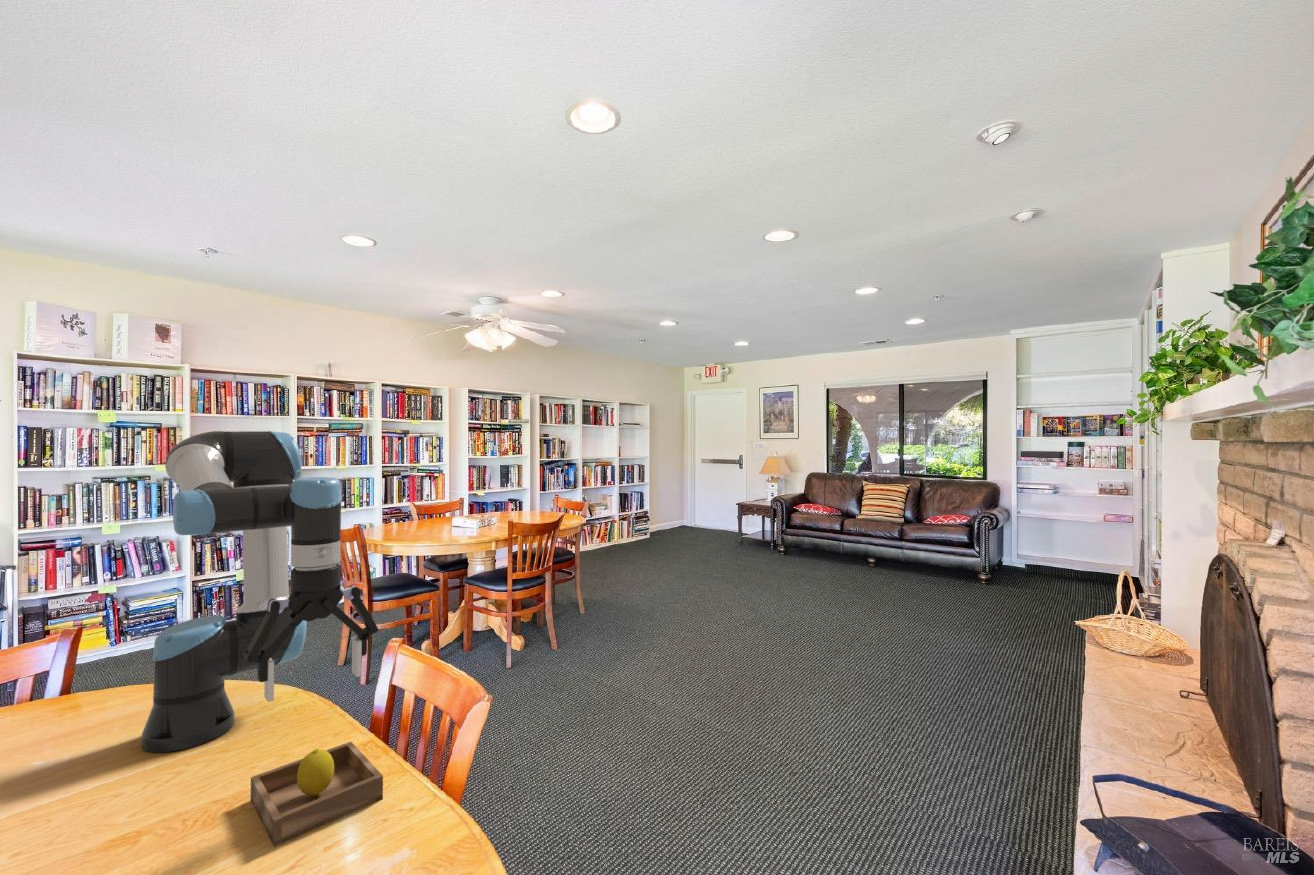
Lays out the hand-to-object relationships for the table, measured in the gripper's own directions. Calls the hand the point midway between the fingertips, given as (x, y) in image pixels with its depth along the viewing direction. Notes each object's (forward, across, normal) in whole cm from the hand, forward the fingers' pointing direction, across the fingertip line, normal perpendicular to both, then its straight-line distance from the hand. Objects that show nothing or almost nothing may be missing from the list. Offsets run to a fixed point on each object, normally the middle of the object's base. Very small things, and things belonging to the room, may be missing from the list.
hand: (314, 686), depth 99 cm
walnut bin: (+19, 0, -2) cm, 19 cm away
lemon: (+18, 0, -2) cm, 18 cm away
